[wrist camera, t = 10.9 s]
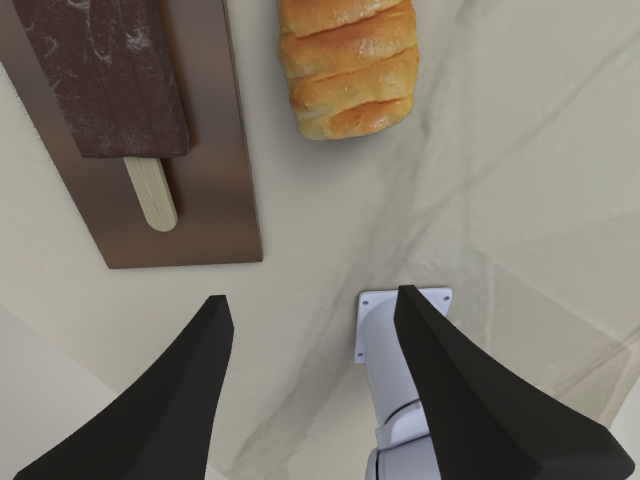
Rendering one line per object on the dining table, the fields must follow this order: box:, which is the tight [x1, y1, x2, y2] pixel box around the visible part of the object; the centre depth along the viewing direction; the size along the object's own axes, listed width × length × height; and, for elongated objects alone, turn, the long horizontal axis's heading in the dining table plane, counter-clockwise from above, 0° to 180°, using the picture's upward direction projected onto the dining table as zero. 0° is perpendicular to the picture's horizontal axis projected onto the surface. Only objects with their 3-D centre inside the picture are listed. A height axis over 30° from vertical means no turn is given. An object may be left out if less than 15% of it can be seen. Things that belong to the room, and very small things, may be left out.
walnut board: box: [0, 0, 264, 269], centre depth 16 cm, size 22×11×1 cm, turn 0°
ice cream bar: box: [11, 0, 192, 232], centre depth 15 cm, size 5×2×15 cm
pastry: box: [277, 0, 419, 140], centre depth 13 cm, size 9×7×4 cm
